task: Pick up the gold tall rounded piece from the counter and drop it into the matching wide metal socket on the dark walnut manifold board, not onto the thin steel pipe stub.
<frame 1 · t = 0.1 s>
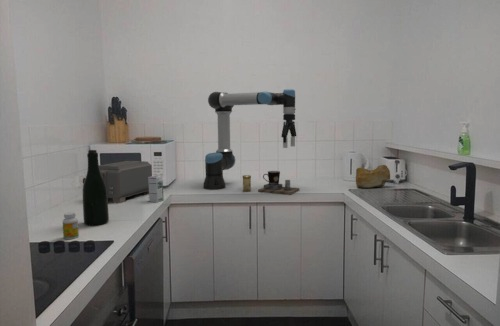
hand: (289, 147, 237), 28 cm above the worktop, tool pointing down, fingers open, 13 cm apart
toaster: (123, 197, 222), on the worktop
dark green wine bottle: (96, 223, 166), on the worktop
coffee mug: (271, 186, 256), on the worktop
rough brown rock: (370, 186, 250), on the worktop
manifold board: (278, 191, 236), on the worktop
syrup box: (156, 201, 210), on the worktop
gold tall rounded piece: (246, 191, 237), on the worktop
supplement bottle: (71, 237, 145), on the worktop
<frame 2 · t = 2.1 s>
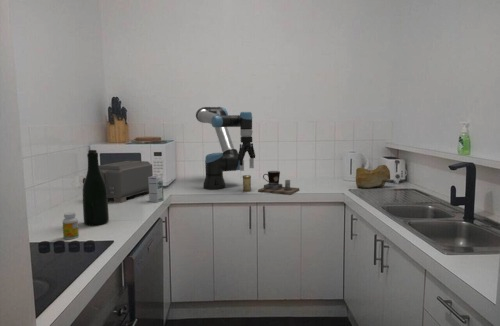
hand: (246, 169, 236), 14 cm above the worktop, tool pointing down, fingers open, 13 cm apart
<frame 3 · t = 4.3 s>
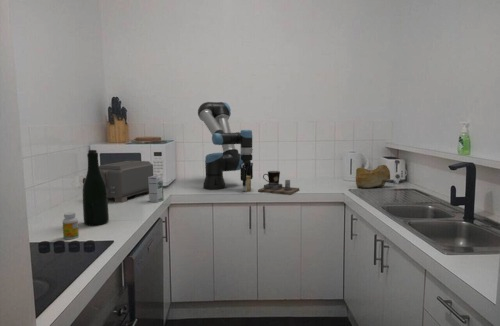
hand: (246, 189, 237), 1 cm above the worktop, tool pointing down, fingers closed on gold tall rounded piece, 5 cm apart
gold tall rounded piece: (246, 191, 237), on the worktop, touching gripper
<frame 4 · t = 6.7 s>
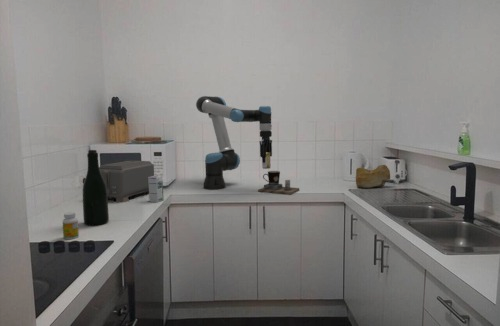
hand: (266, 167, 235), 16 cm above the worktop, tool pointing down, fingers closed on gold tall rounded piece, 5 cm apart
gold tall rounded piece: (266, 168, 235), point 15 cm above the worktop, touching gripper
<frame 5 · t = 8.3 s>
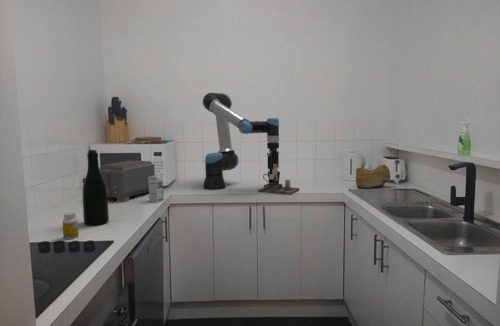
hand: (273, 178, 237), 8 cm above the worktop, tool pointing down, fingers closed on gold tall rounded piece, 5 cm apart
gold tall rounded piece: (273, 179, 237), point 7 cm above the worktop, touching gripper
when the fingers open (5 cm above the worktop, at t = 9.5 s): gold tall rounded piece drops 3 cm, resting on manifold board.
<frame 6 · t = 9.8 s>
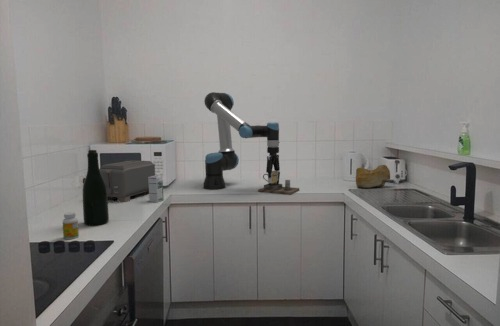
hand: (273, 181, 237), 6 cm above the worktop, tool pointing down, fingers open, 9 cm apart
gold tall rounded piece: (272, 188, 237), point 2 cm above the worktop, touching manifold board
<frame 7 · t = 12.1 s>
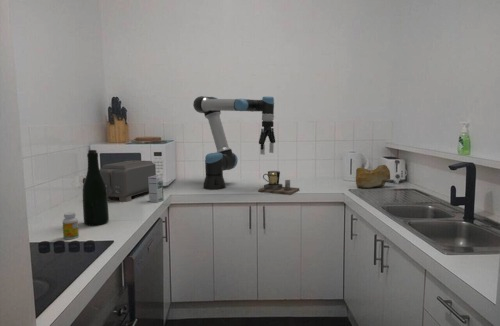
hand: (267, 153, 240), 24 cm above the worktop, tool pointing down, fingers open, 13 cm apart
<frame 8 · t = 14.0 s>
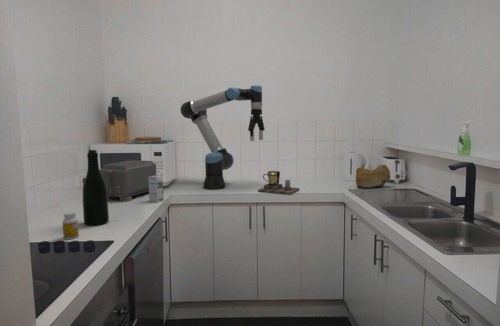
hand: (256, 140, 249), 32 cm above the worktop, tool pointing down, fingers open, 13 cm apart
at the end: gold tall rounded piece 0.3 cm from the target spot on the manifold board, point 1.5 cm above the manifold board's base; gold tall rounded piece tilted 0°; the gripper is holding nothing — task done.
